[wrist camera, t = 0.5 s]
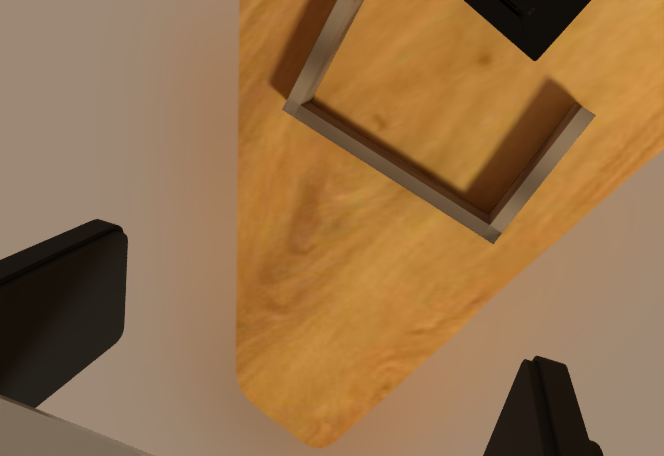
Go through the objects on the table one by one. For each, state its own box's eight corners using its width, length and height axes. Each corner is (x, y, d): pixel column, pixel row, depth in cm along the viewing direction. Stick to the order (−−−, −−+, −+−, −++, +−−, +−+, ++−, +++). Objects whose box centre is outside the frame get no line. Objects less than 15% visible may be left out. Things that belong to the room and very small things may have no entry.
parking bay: (361, -28, 34) (353, -34, 32) (587, 111, 33) (595, 115, 31) (293, 106, 38) (282, 109, 36) (491, 232, 37) (493, 244, 35)
